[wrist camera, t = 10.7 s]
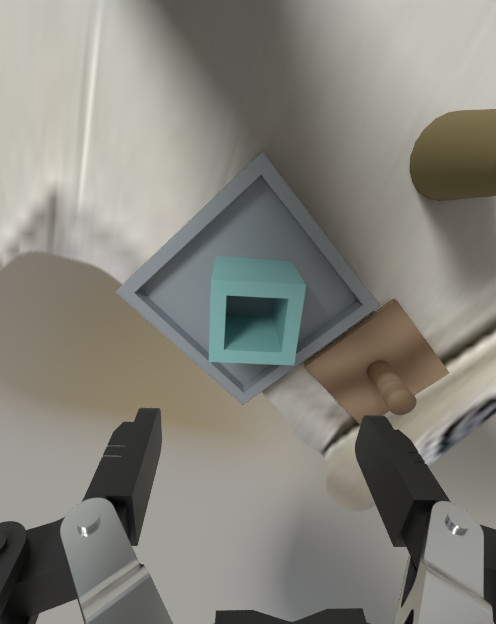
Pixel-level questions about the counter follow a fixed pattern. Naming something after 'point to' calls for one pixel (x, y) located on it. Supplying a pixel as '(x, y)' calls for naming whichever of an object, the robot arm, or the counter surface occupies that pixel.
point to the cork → (456, 156)
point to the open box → (255, 329)
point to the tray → (247, 244)
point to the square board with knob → (378, 365)
